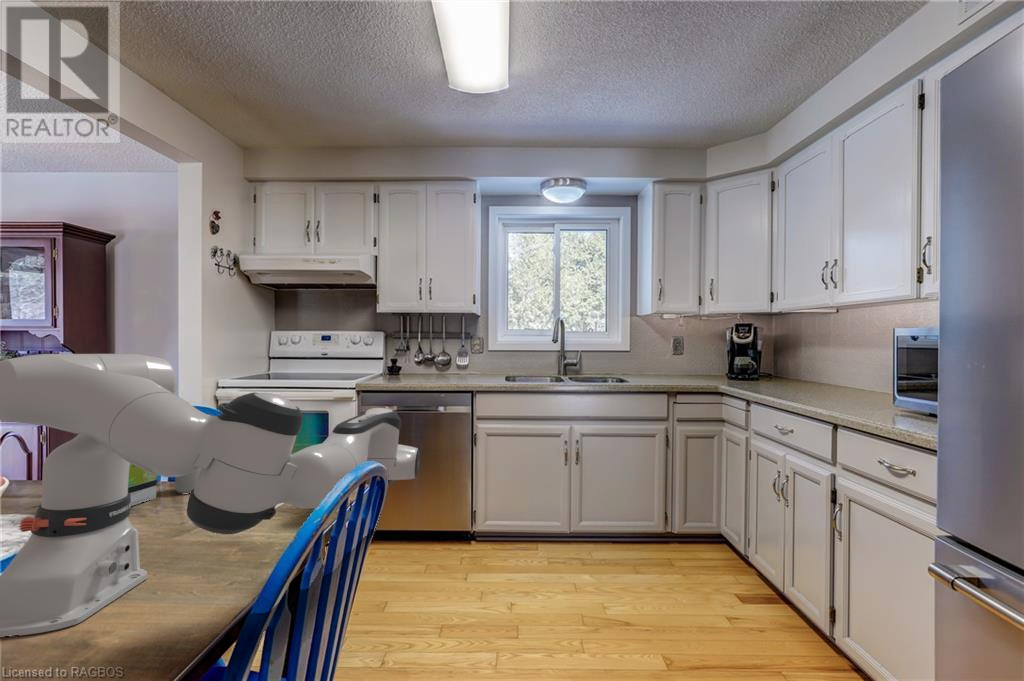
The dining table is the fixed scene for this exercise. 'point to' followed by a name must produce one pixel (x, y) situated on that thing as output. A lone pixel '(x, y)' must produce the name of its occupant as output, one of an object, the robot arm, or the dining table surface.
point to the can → (187, 481)
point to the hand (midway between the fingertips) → (306, 455)
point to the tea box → (141, 485)
